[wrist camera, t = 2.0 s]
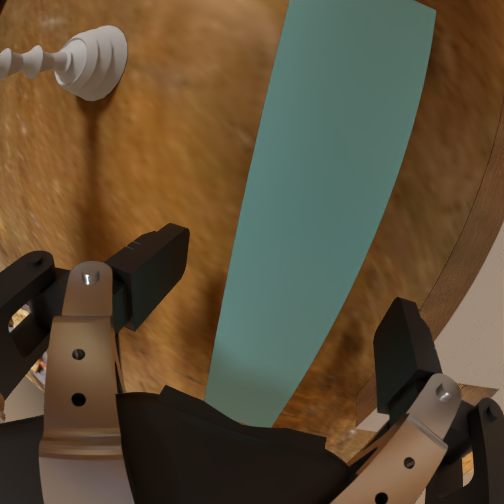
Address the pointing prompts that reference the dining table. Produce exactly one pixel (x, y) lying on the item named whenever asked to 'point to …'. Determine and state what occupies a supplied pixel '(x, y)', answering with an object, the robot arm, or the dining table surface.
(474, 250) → the plate
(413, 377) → the robot arm
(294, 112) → the strip bar
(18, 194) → the dining table surface
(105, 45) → the chalice
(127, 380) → the dining table surface
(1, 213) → the dining table surface
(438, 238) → the dining table surface
